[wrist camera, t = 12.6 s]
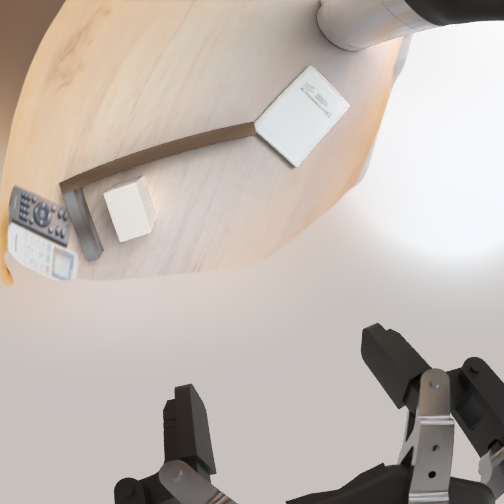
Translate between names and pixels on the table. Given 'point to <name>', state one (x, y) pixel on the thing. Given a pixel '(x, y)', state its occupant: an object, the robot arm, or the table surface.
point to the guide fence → (73, 185)
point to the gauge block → (131, 208)
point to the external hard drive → (301, 116)
